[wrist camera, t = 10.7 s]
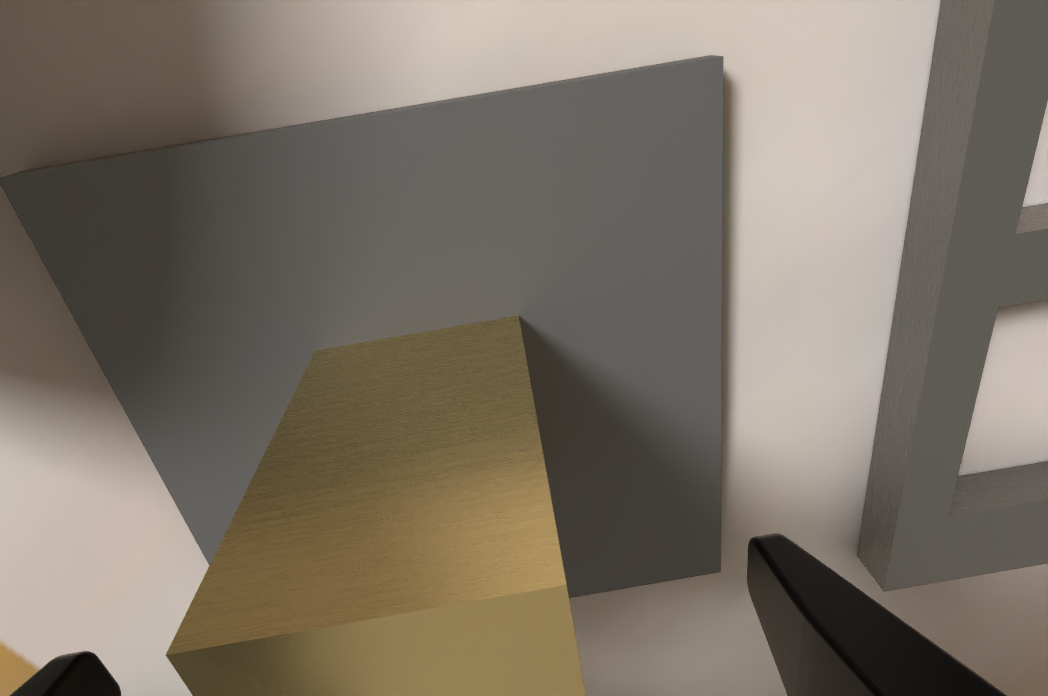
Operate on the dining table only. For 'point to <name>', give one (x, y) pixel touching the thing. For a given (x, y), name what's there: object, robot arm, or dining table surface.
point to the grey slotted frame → (962, 307)
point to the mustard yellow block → (393, 535)
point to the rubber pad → (427, 289)
